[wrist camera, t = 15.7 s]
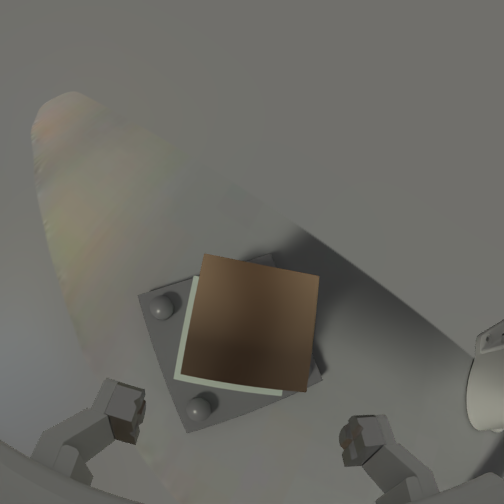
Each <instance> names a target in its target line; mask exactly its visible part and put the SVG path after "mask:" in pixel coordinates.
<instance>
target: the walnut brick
mask: <svg viewBox="0 0 504 504" xmlns="http://www.w3.org/2000/svg"><path fill="white" fill-rule="evenodd" d="M318 286H319V276H317V275H312V274H306V273H301V272H296V271H291V270H285V269H280V268H275V267H270V266H265V265H260V264H255V263H250V262H244V261H239V260H234V259H229V258H224V257H219V256H214V255H209V254H204V257H203V262H202V266H201V271H200V276H199V280H198V285H197V290H196V294H195V299H194V304H193V309H192V314H191V319H190V324H189V329H188V335H187V340H186V345H185V351H184V356H183V362H182V367H181V373H180V374H182V375H187V376H192V377H197V378H202V379H207V380H213V381H218V382H224V383H230V384H237V385H244V386H251V387H258V388H267V389H275V390H285V391H296V392H306V391H307V384H308V377H309V369H310V362H311V354H312V345H313V337H314V328H315V318H316V308H317V297H318Z"/></svg>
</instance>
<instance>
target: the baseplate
mask: <svg viewBox="0 0 504 504" xmlns="http://www.w3.org/2000/svg"><path fill="white" fill-rule="evenodd" d="M245 262H250V263H255V264H260V265H265V266H270V267H275V268H277V267H276V265H275V263H274V260H273V258H272V256H271V253H270V254H267V255H264V256H261V257H257V258H254V259H251V260H248V261H245ZM198 280H199V276H194V277H193V278H191V279H188V280H185V281H182V282H179V283H176V284H172V285H169V286H166V287H163V288H160V289H156V290H153V291H150V292H147V293H144V294H140V295H138V298H139V302H140V305H141V309H142V312H143V316H144V319H145V322H146V326H147V329H148V332H149V335H150V338H151V341H152V344H153V347H154V350H155V353H156V356H157V359H158V362H159V365H160V368H161V370H162V373H163V376H164V379H165V381H166V384H167V387H168V389H169V392H170V394H171V397H172V399H173V402H174V404H175V407H176V409H177V412H178V414H179V416H180V419H181V421H182V423H183V426H184V428H185V430H186V432H187V433H190V432H193V431H197V430H200V429H203V428H206V427H209V426H212V425H215V424H218V423H221V422H224V421H227V420H230V419H233V418H236V417H238V416H241V415H244V414H247V413H249V412H252V411H254V410H257V409H259V408H262V407H264V406H267V405H269V404H272V403H274V402H277V401H279V400H281V399H284V398H286V397H288V396H290V395H293V394H295V393H297V392H296V391H285V390H275V389H267V388H258V387H251V386H244V385H237V384H230V383H224V382H218V381H213V380H207V379H202V378H197V377H192V376H187V375H182V374H180V373H181V367H182V362H183V356H184V351H185V345H186V340H187V335H188V329H189V324H190V319H191V314H192V309H193V304H194V299H195V294H196V290H197V285H198ZM320 381H322V377H321V375H320V372H319V370H318V367H317V365H316V362H315V360H314V357H313V355H312V354H311V362H310V369H309V377H308V384H307V388H308V387H310V386H312V385H314V384H316V383H318V382H320Z"/></svg>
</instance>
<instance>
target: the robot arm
mask: <svg viewBox="0 0 504 504" xmlns="http://www.w3.org/2000/svg"><path fill="white" fill-rule="evenodd" d="M144 397H145V389H141V388H138V387H134V386H131V385H128V384H125V383H122V382H119V381H115V380H112V379H109V378H106V379H105V381H104V382H103V384H102V386H101V388H100V391H99V393H98V395H97V397H96V399H95V401H94V403H93V405H92V407H91V409H88V408H86V409H85V410H83V411H81V412H79V413H77V414H76V415H74V416H72V417H70V418H68V419H66V420H65V421H63V422H61V423H59V424H57V425H55V426H53V427H52V428H50V429H48V430H46V431H44V432H43V433H42V435H41V437H40V439H39V441H38V443H37V445H36V447H35V449H34V451H33V453H32V455H31V457H30V458H29V457H28V456H26V455H24V454H22V453H21V452H19V451H17V450H16V449H14V448H12V447H11V446H9V445H8V444H6V443H4V442H3V441H1V440H0V504H143V503H139V502H136V501H132V500H129V499H126V498H122V497H119V496H116V495H113V494H110V493H107V492H104V491H102V490H99V489H96V488H93V487H91V486H90V485H91V482H92V479H93V475H92V473H91V472H90V470H89V469H88V467H87V466H86V464H85V463H86V462H87V461H88V460H90V459H91V458H93V457H94V456H95V455H96V454H98V453H99V452H100V451H102V450H103V449H104V448H105V447H107V446H108V445H110V444H111V443H112V442H113V441H115V439H116V440H119V441H122V442H126V443H130V444H133V445H136V442H137V439H138V436H139V432H140V430H139V425H140V424H141V423H143V419H144V415H145V410H146V401H145V400H144ZM466 402H467V412H468V417H469V420H470V422H471V424H472V425H473V427H474V428H475V429H477V430H479V431H485V430H492V431H493V432H496V433H497V432H502V431H503V429H504V320H502V321H501V322H499V323H497V324H496V325H494V326H492V327H491V328H489V329H487V330H486V331H485V332H482V333H481V334H479V335H478V336H477V339H476V347H475V358H474V362H473V365H472V368H471V372H470V375H469V380H468V386H467V398H466ZM348 421H349V424H347V425H345V426H344V427H343V428H342V429H341V431H340V435H339V443H340V446H341V447H342V448H343V449H344V451H343V453H342V457H343V462H344V467H351V466H362V468H363V469H364V470H365V471H366V472H367V474H368V475H369V476H370V477H371V478H372V479H373V481H374V482H375V483H376V484H377V485H378V486H379V488H380V489H381V490H382V491H383V492H384V493H385V494H384V495H382V496H381V497H379V498H378V499H377V500H376V501H375V502H376V504H504V480H503V479H502V478H501V477H499V476H498V475H496V474H494V473H493V472H488V473H485V474H483V475H481V476H479V477H477V478H475V479H472V480H470V481H468V482H465V483H463V484H461V485H458V486H456V487H453V488H451V489H448V490H445V491H443V492H440V493H439V490H438V487H437V484H436V481H435V478H434V475H433V473H432V471H431V470H430V469H429V468H428V467H427V466H425V465H424V464H423V463H422V462H421V461H419V460H418V459H417V458H416V457H415V456H413V455H412V454H411V453H410V452H409V451H407V450H406V449H405V448H404V447H403V446H402V445H400V444H399V443H398V444H396V441H395V438H394V435H393V432H392V430H391V427H390V424H389V422H388V419H387V417H386V416H385V415H356V416H352V417H351V418H350V419H349V420H348Z"/></svg>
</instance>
